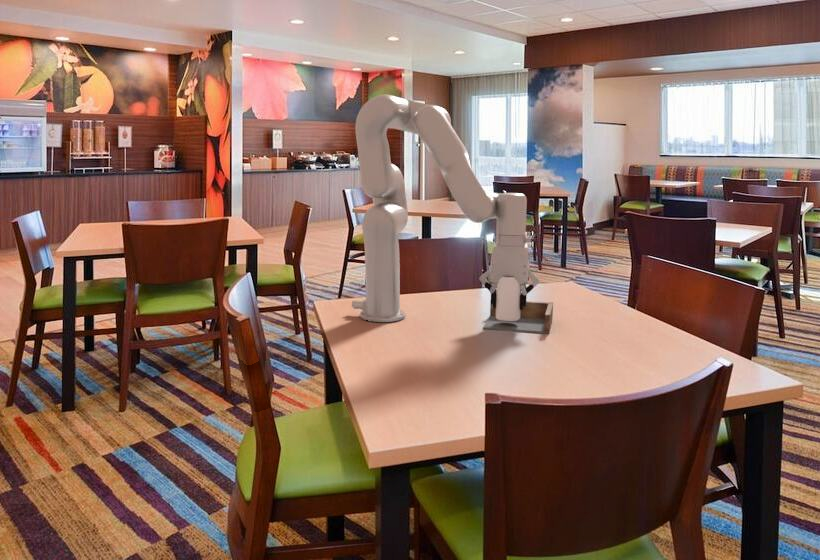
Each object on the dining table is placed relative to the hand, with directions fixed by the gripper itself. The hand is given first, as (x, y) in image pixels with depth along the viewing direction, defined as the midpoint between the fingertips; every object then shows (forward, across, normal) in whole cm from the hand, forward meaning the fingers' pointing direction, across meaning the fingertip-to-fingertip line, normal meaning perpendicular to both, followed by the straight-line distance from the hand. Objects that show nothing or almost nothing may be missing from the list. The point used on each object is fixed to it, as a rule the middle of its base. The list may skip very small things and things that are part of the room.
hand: (508, 307), depth 177 cm
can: (+3, 0, 0) cm, 3 cm away
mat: (+5, -3, -2) cm, 6 cm away
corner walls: (+5, -3, -2) cm, 6 cm away
